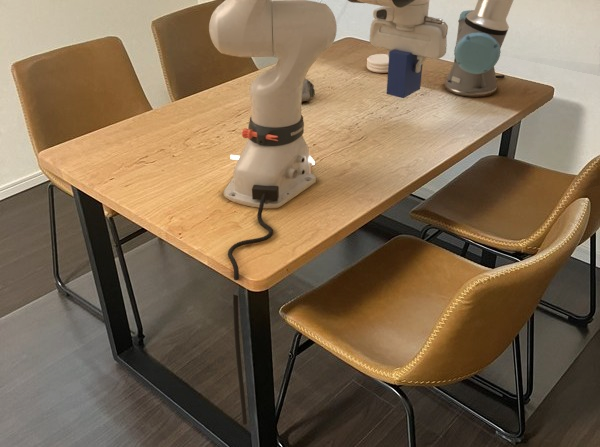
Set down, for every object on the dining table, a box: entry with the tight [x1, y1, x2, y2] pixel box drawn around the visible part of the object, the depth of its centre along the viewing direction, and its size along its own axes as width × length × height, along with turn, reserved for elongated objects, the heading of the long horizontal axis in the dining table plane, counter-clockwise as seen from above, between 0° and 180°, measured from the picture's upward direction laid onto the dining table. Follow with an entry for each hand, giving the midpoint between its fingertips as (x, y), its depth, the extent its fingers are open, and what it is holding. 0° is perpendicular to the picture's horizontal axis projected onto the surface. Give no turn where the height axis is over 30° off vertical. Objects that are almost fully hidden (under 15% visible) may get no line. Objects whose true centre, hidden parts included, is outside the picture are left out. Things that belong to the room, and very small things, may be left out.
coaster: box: [366, 53, 389, 74], centre depth 205 cm, size 10×10×4 cm
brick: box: [386, 49, 424, 99], centre depth 158 cm, size 5×8×11 cm, turn 141°
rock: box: [301, 77, 316, 102], centre depth 184 cm, size 15×10×7 cm
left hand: (405, 69), depth 157 cm, fingers closed on brick, 5 cm apart
